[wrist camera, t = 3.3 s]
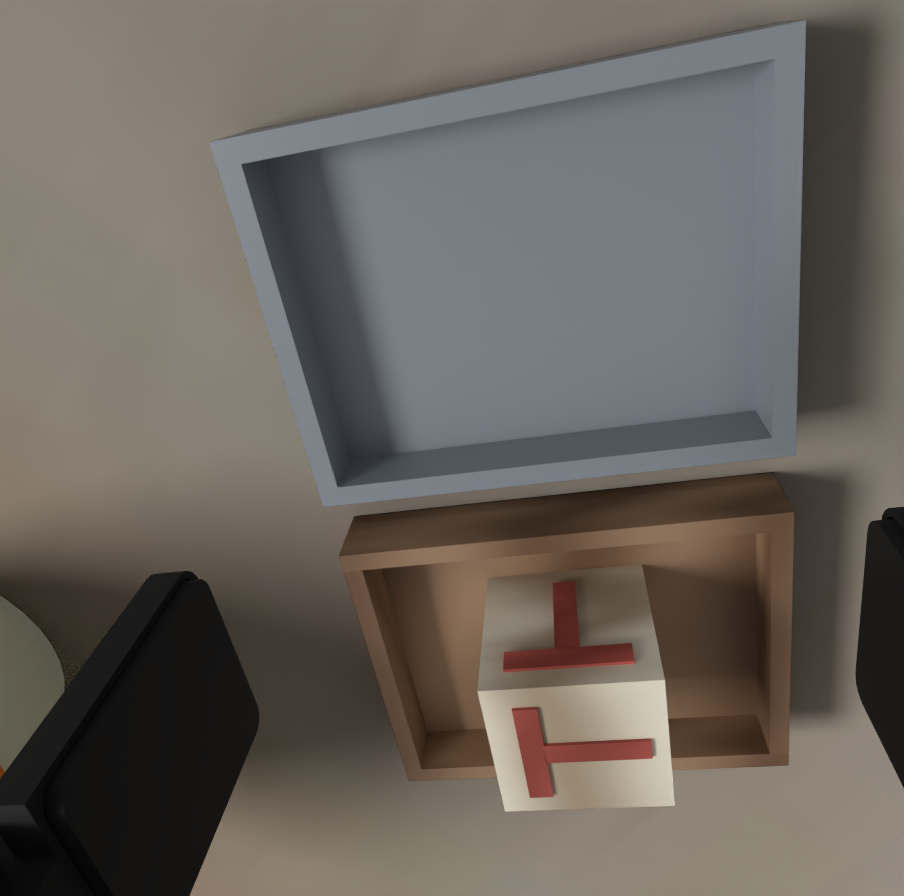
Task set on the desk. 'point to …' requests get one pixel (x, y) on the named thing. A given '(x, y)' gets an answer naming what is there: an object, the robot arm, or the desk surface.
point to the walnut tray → (574, 548)
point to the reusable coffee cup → (24, 680)
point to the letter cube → (575, 691)
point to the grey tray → (537, 270)
